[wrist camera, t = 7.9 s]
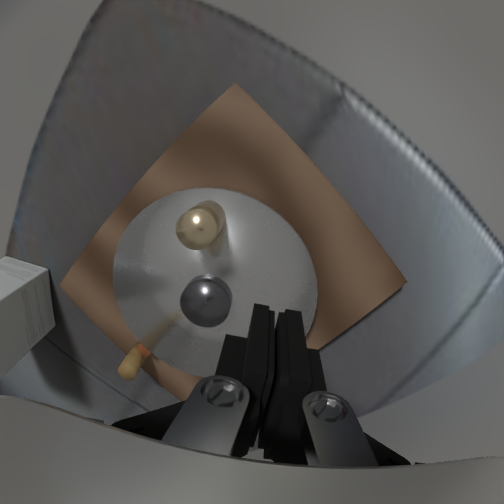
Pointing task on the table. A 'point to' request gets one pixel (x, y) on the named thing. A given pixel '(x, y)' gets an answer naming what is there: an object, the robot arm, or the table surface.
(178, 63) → the table surface
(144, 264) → the flange plate
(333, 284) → the base board
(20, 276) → the supplement box
